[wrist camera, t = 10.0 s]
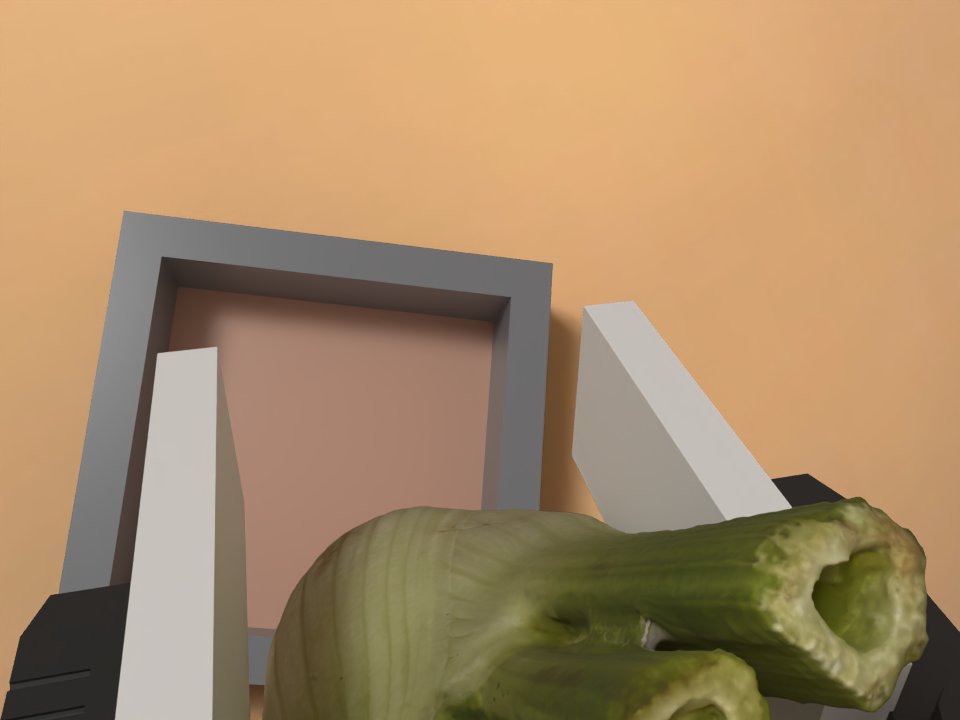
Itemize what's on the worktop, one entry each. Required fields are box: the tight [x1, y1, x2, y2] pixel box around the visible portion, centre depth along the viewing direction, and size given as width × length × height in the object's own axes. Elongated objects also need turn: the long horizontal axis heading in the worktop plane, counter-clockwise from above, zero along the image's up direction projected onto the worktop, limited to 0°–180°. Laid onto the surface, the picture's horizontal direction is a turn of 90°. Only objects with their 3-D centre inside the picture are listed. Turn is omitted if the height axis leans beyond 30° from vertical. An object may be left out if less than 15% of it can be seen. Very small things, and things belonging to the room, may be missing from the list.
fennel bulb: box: [262, 497, 929, 720], centre depth 11 cm, size 6×5×12 cm
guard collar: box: [59, 211, 553, 685], centre depth 27 cm, size 12×12×4 cm
